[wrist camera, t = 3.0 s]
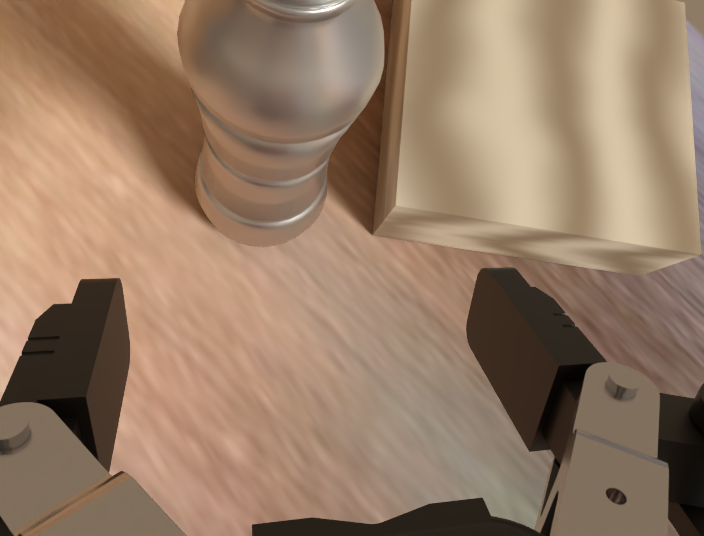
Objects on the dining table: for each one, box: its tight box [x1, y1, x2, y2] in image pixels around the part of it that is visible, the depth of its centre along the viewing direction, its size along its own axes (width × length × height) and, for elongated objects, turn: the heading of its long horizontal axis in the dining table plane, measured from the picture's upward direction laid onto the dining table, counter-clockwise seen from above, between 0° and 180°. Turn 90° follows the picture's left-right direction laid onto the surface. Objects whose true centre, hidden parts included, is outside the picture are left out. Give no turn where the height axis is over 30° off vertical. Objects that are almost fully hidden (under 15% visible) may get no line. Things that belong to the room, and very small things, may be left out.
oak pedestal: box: [372, 0, 701, 276], centre depth 35 cm, size 17×16×5 cm
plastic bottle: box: [177, 0, 384, 247], centre depth 23 cm, size 6×7×20 cm
